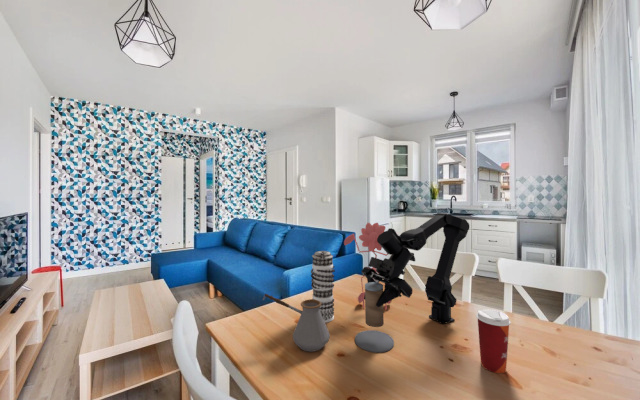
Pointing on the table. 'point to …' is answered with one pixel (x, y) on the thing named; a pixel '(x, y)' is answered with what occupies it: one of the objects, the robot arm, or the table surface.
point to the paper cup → (493, 339)
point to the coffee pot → (308, 325)
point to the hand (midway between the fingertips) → (370, 302)
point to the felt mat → (374, 341)
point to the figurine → (368, 241)
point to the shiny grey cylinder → (373, 304)
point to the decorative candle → (323, 283)
